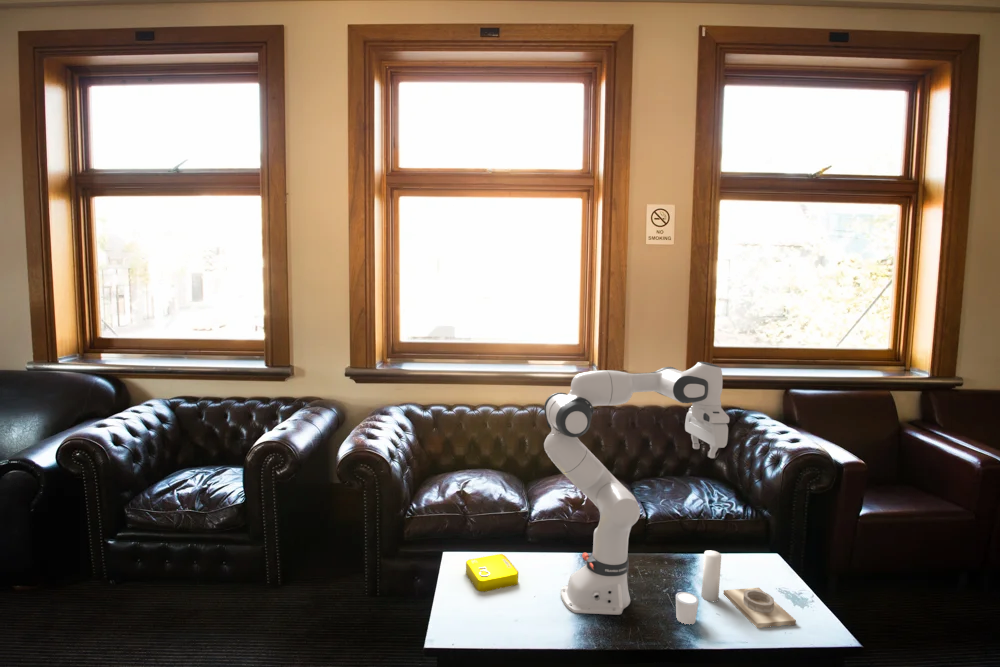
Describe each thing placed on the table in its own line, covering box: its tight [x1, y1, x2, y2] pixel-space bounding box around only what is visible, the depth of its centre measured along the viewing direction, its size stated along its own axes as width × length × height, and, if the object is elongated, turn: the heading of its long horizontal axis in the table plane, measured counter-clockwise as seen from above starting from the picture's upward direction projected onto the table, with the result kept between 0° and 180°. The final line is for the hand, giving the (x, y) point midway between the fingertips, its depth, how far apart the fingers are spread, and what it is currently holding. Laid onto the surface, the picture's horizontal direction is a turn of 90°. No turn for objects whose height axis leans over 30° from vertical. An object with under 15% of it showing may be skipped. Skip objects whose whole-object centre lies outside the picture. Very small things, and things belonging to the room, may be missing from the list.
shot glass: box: [675, 591, 700, 626], centre depth 169 cm, size 7×7×7 cm
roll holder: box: [723, 587, 797, 629], centre depth 176 cm, size 13×18×4 cm
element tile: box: [465, 553, 519, 593], centre depth 190 cm, size 15×15×5 cm
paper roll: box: [701, 550, 722, 603], centre depth 181 cm, size 5×5×15 cm
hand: (703, 452), depth 180 cm, fingers open, 8 cm apart
